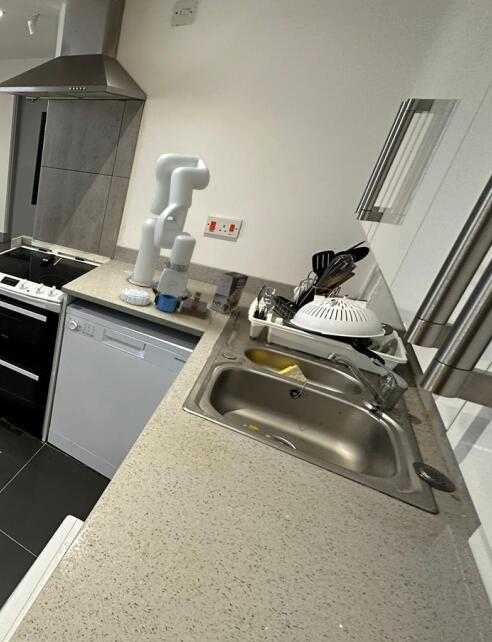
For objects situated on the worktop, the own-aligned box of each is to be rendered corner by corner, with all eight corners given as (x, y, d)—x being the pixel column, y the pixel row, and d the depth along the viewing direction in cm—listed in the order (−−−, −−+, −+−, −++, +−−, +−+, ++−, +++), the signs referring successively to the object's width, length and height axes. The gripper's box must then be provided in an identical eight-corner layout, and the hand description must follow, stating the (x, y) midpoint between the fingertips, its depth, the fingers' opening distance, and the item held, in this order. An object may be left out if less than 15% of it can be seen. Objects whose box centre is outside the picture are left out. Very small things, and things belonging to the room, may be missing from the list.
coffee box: (223, 314, 164) (236, 278, 157) (209, 307, 169) (221, 272, 163) (236, 311, 168) (249, 276, 162) (222, 305, 173) (234, 270, 167)
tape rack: (179, 312, 161) (184, 296, 158) (182, 303, 172) (187, 287, 169) (203, 319, 157) (209, 302, 154) (205, 308, 168) (211, 292, 165)
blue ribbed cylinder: (155, 308, 162) (158, 297, 160) (157, 302, 168) (160, 292, 166) (173, 313, 159) (177, 301, 157) (175, 307, 165) (179, 296, 163)
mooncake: (150, 299, 173) (152, 291, 172) (147, 307, 163) (149, 300, 162) (122, 292, 178) (124, 285, 177) (118, 300, 168) (119, 293, 167)
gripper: (153, 264, 157) (142, 304, 164) (201, 274, 149) (187, 316, 156) (156, 259, 163) (145, 298, 170) (202, 269, 155) (189, 310, 162)
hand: (165, 306), depth 163 cm, fingers closed on blue ribbed cylinder, 7 cm apart
